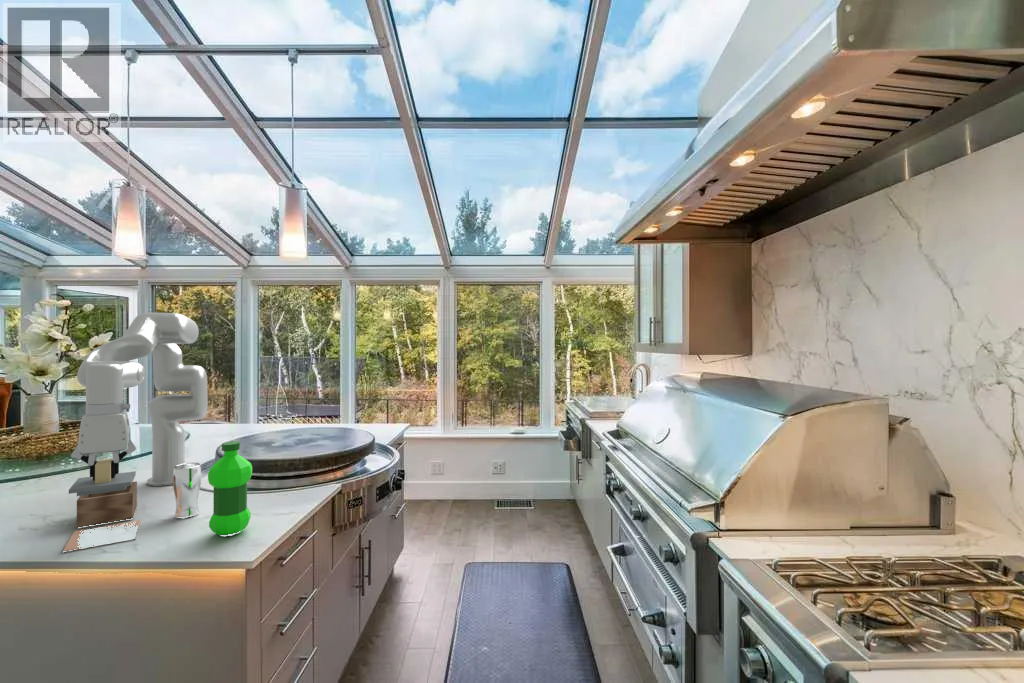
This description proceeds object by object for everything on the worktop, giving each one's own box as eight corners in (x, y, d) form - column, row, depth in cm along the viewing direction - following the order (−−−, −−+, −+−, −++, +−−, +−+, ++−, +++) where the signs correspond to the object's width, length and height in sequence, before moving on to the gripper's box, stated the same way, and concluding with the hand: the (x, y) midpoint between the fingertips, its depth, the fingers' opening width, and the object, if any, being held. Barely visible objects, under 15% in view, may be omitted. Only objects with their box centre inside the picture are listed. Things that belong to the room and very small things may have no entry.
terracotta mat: (140, 521, 133) (140, 519, 133) (135, 539, 122) (135, 537, 122) (74, 532, 125) (74, 530, 125) (62, 553, 114) (62, 551, 114)
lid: (135, 479, 131) (135, 453, 131) (130, 490, 121) (131, 462, 121) (78, 486, 124) (78, 459, 124) (68, 498, 114) (68, 469, 114)
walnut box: (136, 506, 144) (136, 481, 144) (132, 519, 134) (132, 492, 134) (85, 514, 137) (85, 488, 137) (76, 529, 127) (76, 500, 127)
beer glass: (170, 521, 133) (170, 470, 133) (175, 512, 140) (175, 463, 139) (199, 517, 137) (199, 467, 136) (202, 509, 143) (202, 461, 142)
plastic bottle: (260, 527, 130) (261, 440, 130) (229, 543, 120) (230, 448, 120) (230, 523, 133) (231, 437, 132) (198, 539, 122) (199, 446, 122)
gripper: (145, 405, 130) (144, 469, 131) (66, 409, 121) (65, 479, 121) (142, 409, 124) (142, 476, 124) (59, 414, 115) (58, 487, 115)
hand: (104, 477), depth 123 cm, fingers closed on lid, 3 cm apart
